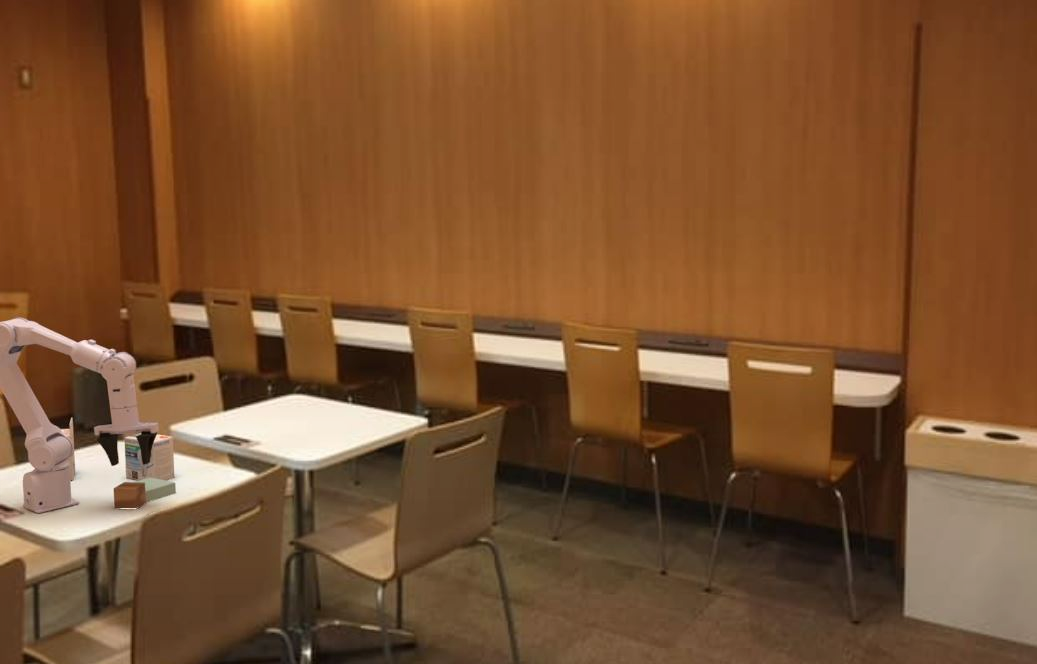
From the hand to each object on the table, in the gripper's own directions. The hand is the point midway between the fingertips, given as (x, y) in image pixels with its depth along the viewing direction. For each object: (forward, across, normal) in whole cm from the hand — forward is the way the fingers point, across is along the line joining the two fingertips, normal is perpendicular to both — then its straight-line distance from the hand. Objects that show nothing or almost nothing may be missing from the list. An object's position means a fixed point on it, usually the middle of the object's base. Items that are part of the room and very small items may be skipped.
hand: (130, 464), depth 218 cm
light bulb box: (+10, +7, -22) cm, 25 cm away
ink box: (+8, +29, -20) cm, 36 cm away
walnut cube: (+10, +1, +1) cm, 10 cm away
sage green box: (+10, +1, -8) cm, 13 cm away
